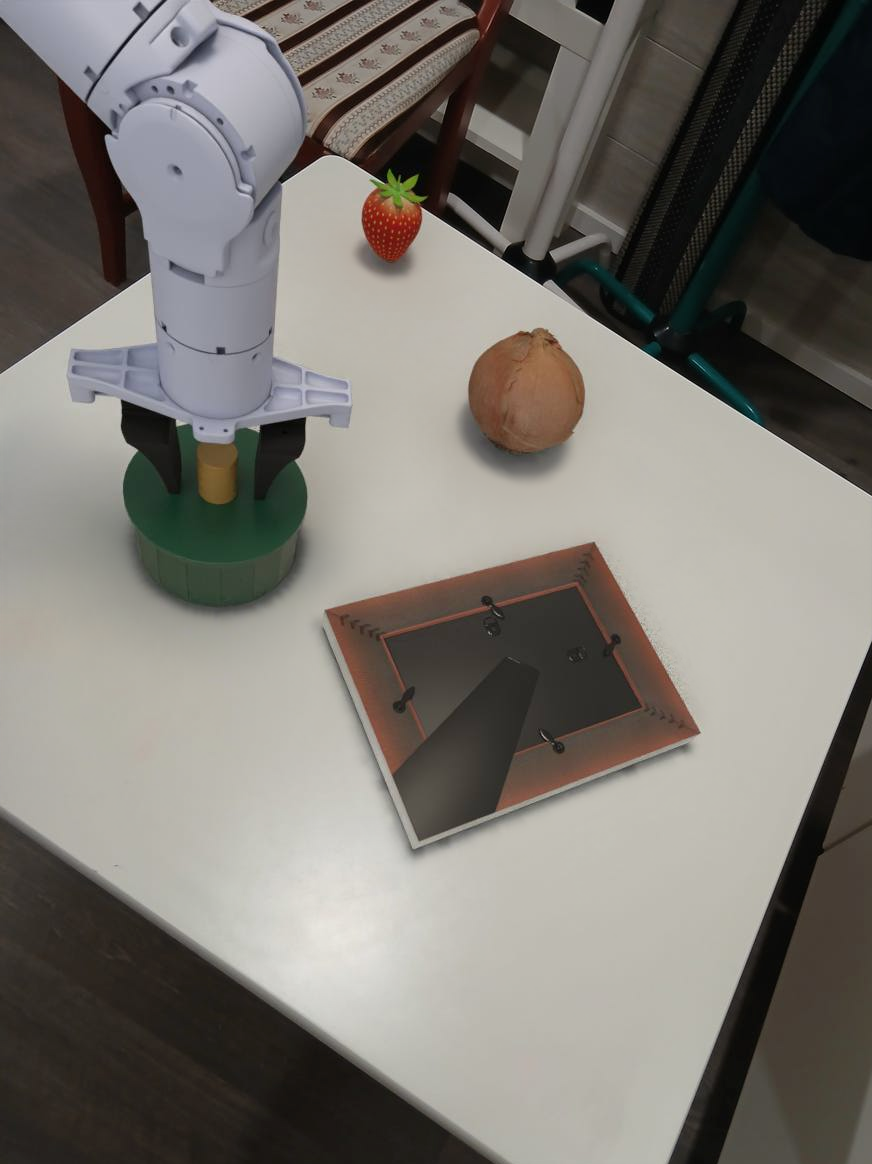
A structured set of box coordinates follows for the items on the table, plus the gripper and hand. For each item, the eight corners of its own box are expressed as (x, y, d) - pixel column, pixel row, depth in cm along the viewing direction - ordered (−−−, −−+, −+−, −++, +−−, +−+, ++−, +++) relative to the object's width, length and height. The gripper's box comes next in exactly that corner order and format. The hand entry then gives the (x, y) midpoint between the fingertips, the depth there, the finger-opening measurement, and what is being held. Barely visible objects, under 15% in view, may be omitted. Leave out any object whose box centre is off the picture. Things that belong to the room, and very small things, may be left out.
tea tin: (105, 559, 56) (94, 510, 51) (194, 459, 61) (192, 407, 57) (244, 632, 56) (246, 590, 51) (321, 526, 61) (329, 479, 57)
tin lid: (85, 517, 51) (73, 468, 47) (190, 406, 57) (188, 354, 53) (248, 603, 51) (250, 561, 47) (336, 483, 57) (344, 437, 53)
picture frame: (411, 852, 52) (686, 745, 60) (419, 841, 50) (702, 732, 58) (320, 625, 57) (583, 558, 66) (324, 607, 55) (595, 539, 64)
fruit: (404, 285, 76) (422, 205, 69) (349, 265, 75) (361, 182, 68) (418, 250, 78) (437, 169, 72) (365, 230, 78) (378, 147, 71)
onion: (488, 421, 75) (513, 304, 69) (584, 457, 72) (618, 339, 66) (435, 446, 67) (459, 318, 62) (540, 488, 64) (575, 357, 59)
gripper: (42, 353, 38) (85, 529, 49) (365, 389, 42) (335, 543, 53) (61, 247, 41) (97, 435, 52) (360, 290, 45) (332, 456, 56)
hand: (217, 484), depth 53 cm, fingers open, 4 cm apart
